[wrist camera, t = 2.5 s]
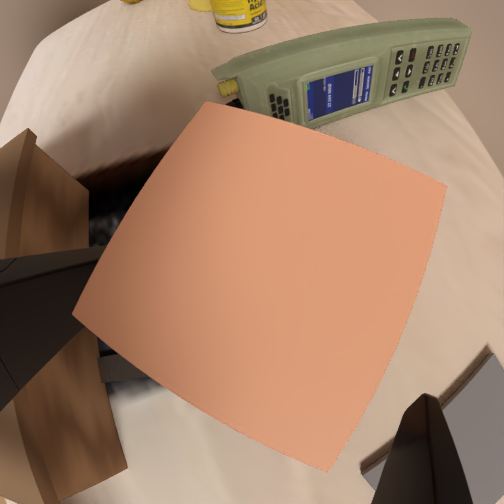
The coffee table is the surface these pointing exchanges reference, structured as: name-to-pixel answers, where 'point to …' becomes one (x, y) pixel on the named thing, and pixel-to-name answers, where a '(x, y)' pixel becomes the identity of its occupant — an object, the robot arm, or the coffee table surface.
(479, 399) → the charcoal mat
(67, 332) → the robot arm
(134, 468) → the coffee table surface
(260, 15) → the supplement bottle
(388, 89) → the handheld radio
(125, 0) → the lemon
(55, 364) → the walnut toolbox
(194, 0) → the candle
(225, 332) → the salmon orange rectangular block
